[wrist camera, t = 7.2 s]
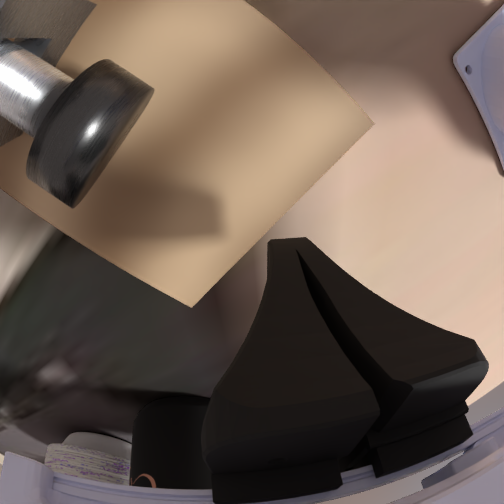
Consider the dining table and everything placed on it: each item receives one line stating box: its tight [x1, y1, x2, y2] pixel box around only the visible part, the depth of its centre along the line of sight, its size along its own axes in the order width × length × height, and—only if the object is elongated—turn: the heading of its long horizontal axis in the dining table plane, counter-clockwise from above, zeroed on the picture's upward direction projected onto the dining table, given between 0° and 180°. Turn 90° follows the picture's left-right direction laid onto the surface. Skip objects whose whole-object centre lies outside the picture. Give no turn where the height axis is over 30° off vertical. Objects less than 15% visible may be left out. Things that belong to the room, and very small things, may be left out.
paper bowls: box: [44, 432, 132, 485], centre depth 27 cm, size 15×15×8 cm
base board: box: [0, 0, 374, 308], centre depth 9 cm, size 22×12×2 cm, turn 49°
